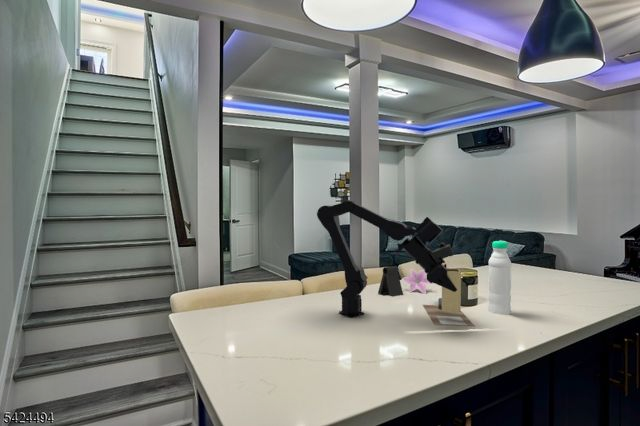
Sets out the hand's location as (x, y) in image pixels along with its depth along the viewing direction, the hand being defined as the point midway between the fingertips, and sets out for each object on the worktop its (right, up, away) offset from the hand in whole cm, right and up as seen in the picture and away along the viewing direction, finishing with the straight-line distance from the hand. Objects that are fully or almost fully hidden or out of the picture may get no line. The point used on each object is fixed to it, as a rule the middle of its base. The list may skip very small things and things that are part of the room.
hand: (455, 288), depth 113 cm
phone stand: (-14, -10, +35) cm, 39 cm away
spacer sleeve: (-1, -7, +1) cm, 7 cm away
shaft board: (0, -11, +7) cm, 13 cm away
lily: (0, -10, +43) cm, 44 cm away
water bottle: (+19, -11, +10) cm, 24 cm away
